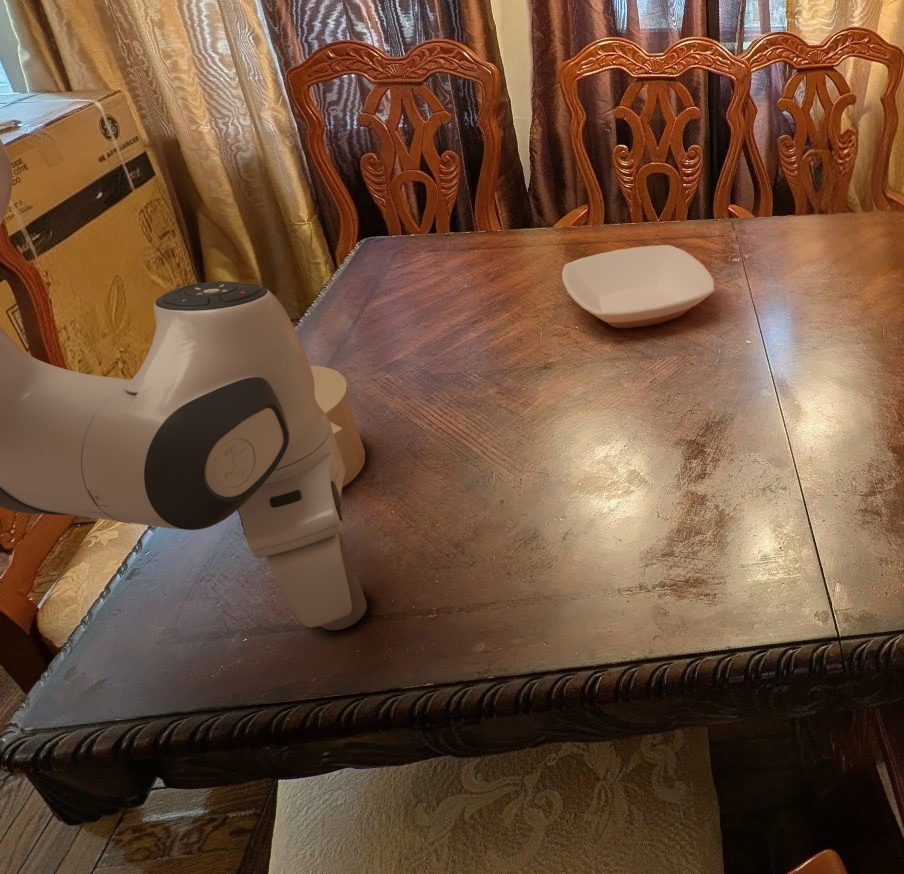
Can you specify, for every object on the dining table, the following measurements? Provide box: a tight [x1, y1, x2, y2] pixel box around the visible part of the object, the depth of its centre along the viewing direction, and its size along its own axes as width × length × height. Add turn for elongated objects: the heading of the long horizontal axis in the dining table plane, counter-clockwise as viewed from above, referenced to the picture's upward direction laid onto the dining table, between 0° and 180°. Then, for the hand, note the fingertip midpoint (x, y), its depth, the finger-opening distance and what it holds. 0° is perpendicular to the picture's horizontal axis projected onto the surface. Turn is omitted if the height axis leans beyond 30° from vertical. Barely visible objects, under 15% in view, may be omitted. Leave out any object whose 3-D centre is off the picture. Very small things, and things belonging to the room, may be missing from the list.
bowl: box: [561, 244, 716, 329], centre depth 122 cm, size 22×22×5 cm
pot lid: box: [309, 364, 349, 416], centre depth 87 cm, size 13×13×4 cm
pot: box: [327, 395, 366, 488], centre depth 91 cm, size 12×18×10 cm
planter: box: [320, 532, 368, 631], centre depth 72 cm, size 4×4×10 cm
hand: (332, 585), depth 73 cm, fingers closed on planter, 4 cm apart
